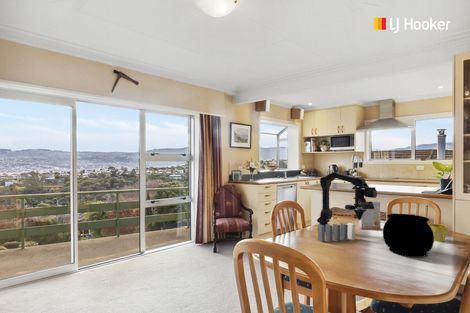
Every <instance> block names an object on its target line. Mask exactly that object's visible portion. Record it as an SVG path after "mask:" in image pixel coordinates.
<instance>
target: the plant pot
mask: <svg viewBox="0 0 470 313" xmlns="http://www.w3.org/2000/svg"><path fill="white" fill-rule="evenodd" d="M428 224H429V226H430V227H431V229H432V231H433V234H434V242H438V243H442V242H443V243H444V242H445V240H446V236H447V233H448V232H449V227H448V226H447V225H445V224H442V223H441V224H438V223H428Z"/></svg>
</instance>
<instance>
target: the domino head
mask: <svg viewBox="0 0 470 313" xmlns="http://www.w3.org/2000/svg"><path fill="white" fill-rule="evenodd" d="M347 225H348V239H349V240H351V241H355V240H356V229H355V228H356V224H355V223H352V222H348V223H347Z"/></svg>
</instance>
